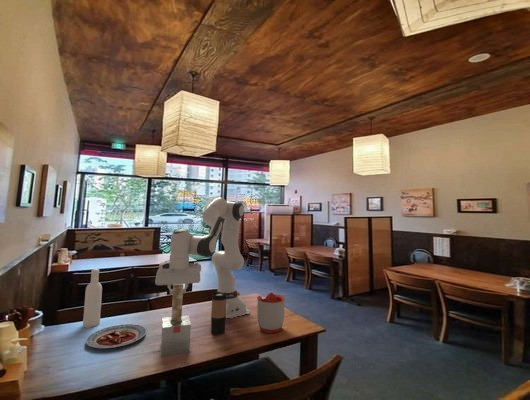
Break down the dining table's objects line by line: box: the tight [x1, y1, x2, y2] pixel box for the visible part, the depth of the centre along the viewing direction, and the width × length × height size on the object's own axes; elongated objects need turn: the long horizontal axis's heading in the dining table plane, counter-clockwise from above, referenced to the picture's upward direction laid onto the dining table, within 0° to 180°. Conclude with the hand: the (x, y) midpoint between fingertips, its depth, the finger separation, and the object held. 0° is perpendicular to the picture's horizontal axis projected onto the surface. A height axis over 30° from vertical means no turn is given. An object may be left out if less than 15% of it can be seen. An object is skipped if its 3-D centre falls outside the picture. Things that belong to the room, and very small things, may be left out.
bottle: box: [82, 268, 103, 329], centre depth 144 cm, size 8×8×30 cm
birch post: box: [170, 284, 184, 324], centre depth 122 cm, size 4×4×20 cm
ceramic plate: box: [85, 323, 147, 349], centre depth 128 cm, size 26×26×3 cm
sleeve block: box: [160, 314, 192, 357], centre depth 121 cm, size 12×13×12 cm
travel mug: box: [210, 291, 227, 336], centre depth 138 cm, size 8×8×20 cm
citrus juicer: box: [256, 291, 286, 334], centre depth 145 cm, size 16×17×20 cm
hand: (177, 293), depth 122 cm, fingers closed on birch post, 4 cm apart
